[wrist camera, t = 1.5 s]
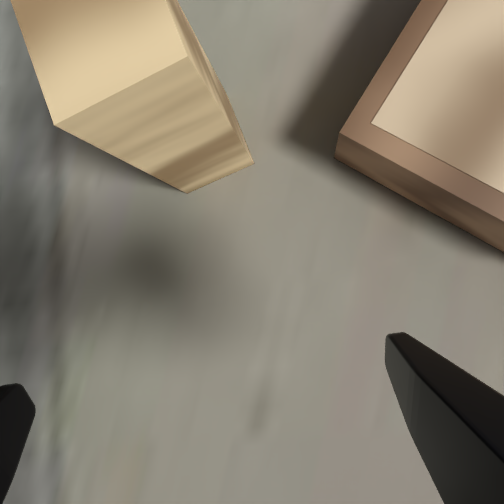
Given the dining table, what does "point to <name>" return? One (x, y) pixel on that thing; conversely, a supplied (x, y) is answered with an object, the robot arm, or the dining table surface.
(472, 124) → the plinth
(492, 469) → the robot arm
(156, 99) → the oak block
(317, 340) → the dining table surface
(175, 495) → the dining table surface
